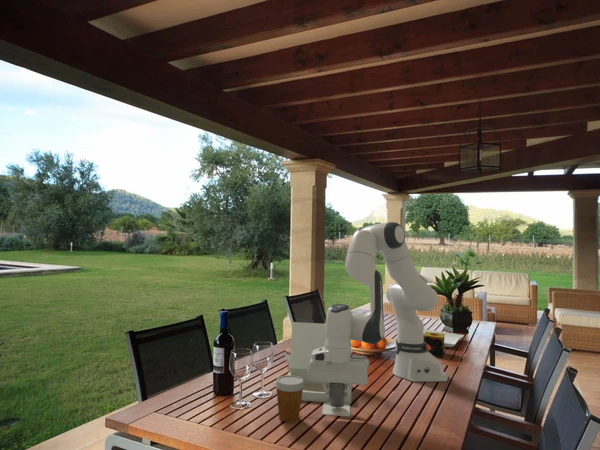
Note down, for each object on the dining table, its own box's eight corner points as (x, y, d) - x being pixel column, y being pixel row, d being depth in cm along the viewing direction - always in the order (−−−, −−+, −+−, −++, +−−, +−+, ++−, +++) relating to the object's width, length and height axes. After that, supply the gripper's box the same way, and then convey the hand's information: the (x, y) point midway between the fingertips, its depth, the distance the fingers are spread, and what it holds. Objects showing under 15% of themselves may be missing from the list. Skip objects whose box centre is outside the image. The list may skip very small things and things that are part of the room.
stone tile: (349, 406, 136) (349, 404, 136) (350, 418, 127) (350, 415, 127) (323, 404, 137) (323, 402, 137) (322, 416, 128) (322, 413, 128)
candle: (422, 355, 202) (422, 335, 202) (424, 350, 211) (424, 331, 211) (443, 357, 198) (443, 337, 198) (444, 352, 207) (444, 333, 207)
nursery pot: (344, 401, 135) (344, 374, 135) (344, 407, 130) (344, 380, 130) (329, 400, 135) (330, 374, 135) (328, 406, 130) (329, 379, 130)
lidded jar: (306, 372, 170) (307, 350, 170) (282, 370, 172) (282, 348, 173) (310, 364, 181) (311, 344, 181) (287, 362, 183) (288, 342, 183)
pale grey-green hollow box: (349, 380, 162) (350, 324, 162) (351, 405, 137) (352, 339, 138) (291, 376, 164) (292, 321, 165) (282, 400, 140) (284, 335, 141)
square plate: (464, 340, 235) (464, 334, 235) (454, 351, 212) (454, 343, 212) (418, 333, 249) (418, 327, 249) (404, 342, 226) (404, 335, 226)
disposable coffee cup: (281, 409, 133) (282, 372, 133) (308, 414, 129) (309, 377, 129) (268, 421, 124) (269, 382, 124) (296, 427, 120) (297, 387, 121)
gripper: (368, 352, 135) (367, 394, 135) (308, 349, 137) (307, 390, 137) (369, 358, 129) (369, 401, 128) (307, 354, 131) (306, 397, 130)
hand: (336, 395), depth 133 cm, fingers closed on nursery pot, 5 cm apart
